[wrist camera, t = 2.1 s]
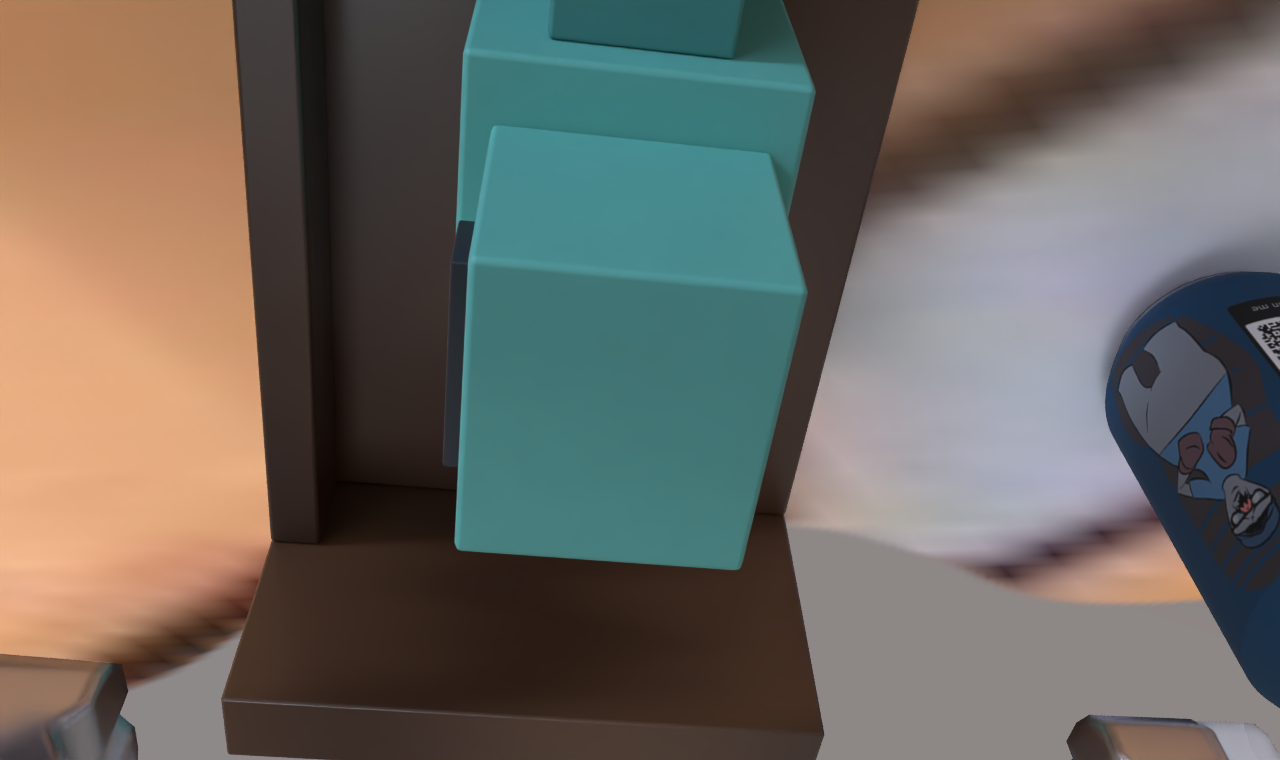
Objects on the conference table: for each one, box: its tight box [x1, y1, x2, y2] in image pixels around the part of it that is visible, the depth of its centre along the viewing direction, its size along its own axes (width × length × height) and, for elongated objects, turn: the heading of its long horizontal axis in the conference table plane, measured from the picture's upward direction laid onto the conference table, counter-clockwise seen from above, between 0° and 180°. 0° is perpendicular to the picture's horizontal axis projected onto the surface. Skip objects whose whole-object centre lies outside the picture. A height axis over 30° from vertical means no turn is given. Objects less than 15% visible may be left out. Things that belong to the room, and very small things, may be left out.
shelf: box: [221, 0, 919, 760], centre depth 22 cm, size 11×22×14 cm, turn 173°
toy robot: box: [443, 0, 816, 570], centre depth 18 cm, size 4×8×9 cm, turn 173°
